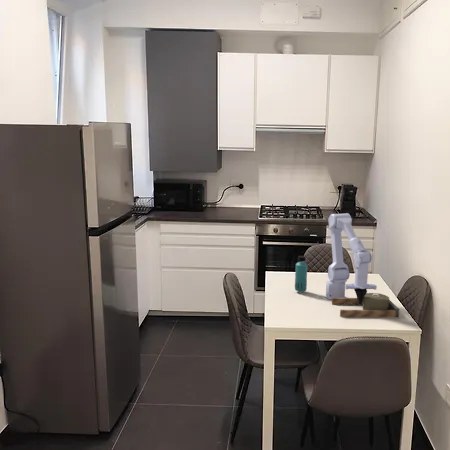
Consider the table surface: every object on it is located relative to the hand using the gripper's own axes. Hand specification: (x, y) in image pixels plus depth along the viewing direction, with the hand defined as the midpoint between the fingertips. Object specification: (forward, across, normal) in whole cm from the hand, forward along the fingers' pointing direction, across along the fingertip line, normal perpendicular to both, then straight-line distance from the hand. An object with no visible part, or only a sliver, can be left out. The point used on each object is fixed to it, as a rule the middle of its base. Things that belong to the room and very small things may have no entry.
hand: (359, 303), depth 218 cm
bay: (+3, +2, 0) cm, 4 cm away
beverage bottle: (+4, -24, +26) cm, 36 cm away
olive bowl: (+4, +8, 0) cm, 8 cm away
